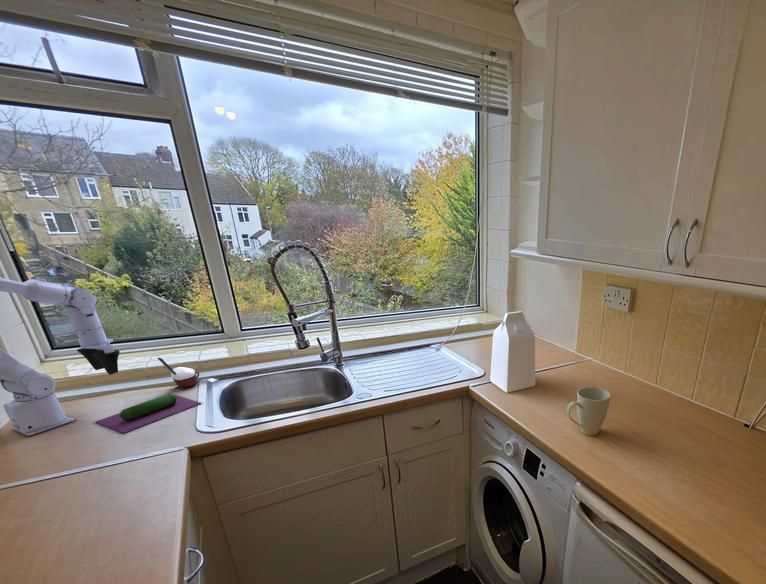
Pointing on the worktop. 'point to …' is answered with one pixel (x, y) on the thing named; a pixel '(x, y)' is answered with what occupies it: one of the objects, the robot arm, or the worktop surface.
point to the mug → (590, 409)
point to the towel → (147, 416)
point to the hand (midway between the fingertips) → (106, 371)
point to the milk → (513, 354)
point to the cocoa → (182, 375)
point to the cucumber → (148, 407)
